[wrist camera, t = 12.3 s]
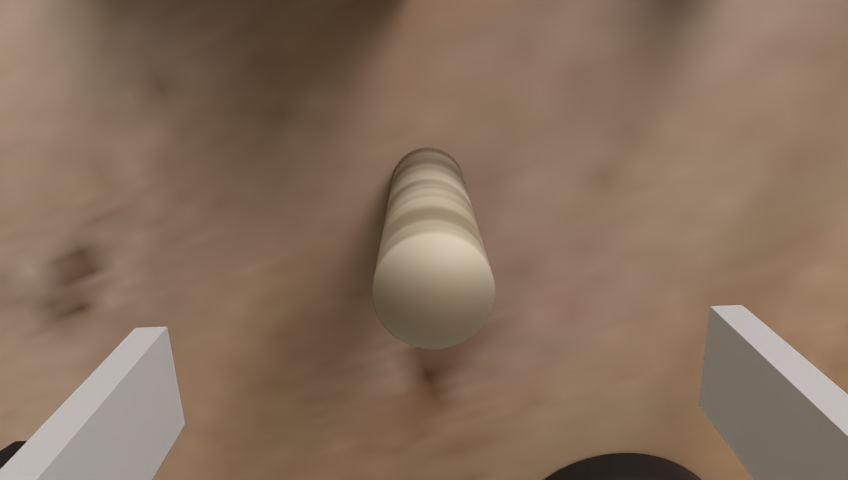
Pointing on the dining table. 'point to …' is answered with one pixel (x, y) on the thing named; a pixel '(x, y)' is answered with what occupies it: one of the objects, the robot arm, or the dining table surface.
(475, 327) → the dowel
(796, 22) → the dining table surface
